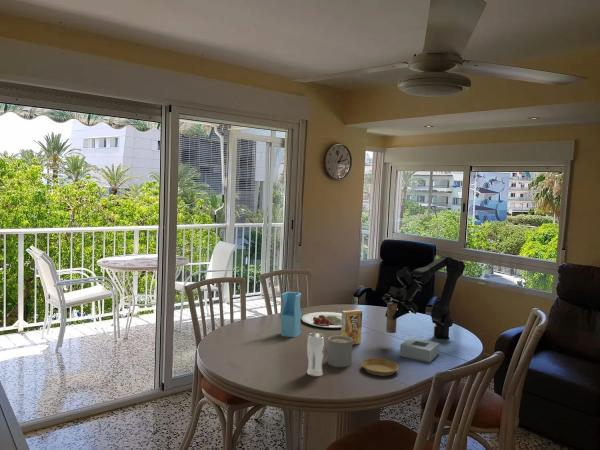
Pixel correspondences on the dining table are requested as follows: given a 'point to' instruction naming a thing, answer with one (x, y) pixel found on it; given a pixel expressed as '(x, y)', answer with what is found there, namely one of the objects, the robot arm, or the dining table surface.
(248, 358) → the dining table surface
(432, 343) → the socket block
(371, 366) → the plant saucer
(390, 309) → the walnut peg
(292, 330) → the vase
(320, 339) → the beer glass
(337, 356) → the coffee mug
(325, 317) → the plated food
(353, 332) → the candy box
